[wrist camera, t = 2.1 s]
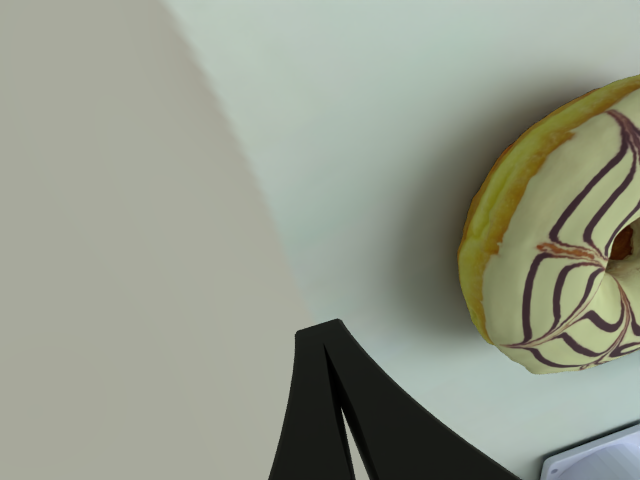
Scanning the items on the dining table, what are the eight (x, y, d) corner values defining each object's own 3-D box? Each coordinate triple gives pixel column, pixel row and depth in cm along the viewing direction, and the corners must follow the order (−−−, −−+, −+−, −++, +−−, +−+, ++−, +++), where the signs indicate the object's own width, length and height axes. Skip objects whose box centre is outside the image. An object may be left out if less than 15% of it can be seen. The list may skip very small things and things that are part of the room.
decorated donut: (594, 325, 16) (682, 387, 13) (404, 324, 14) (455, 401, 10) (731, 108, 12) (911, 117, 9) (500, 45, 10) (635, 24, 6)
